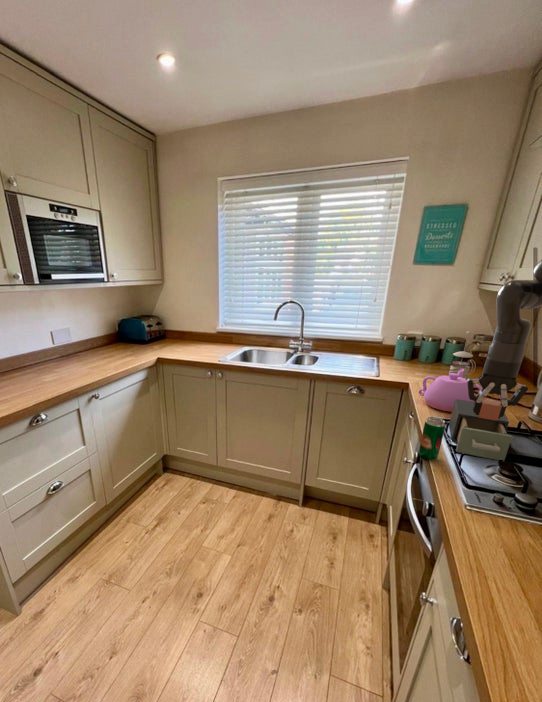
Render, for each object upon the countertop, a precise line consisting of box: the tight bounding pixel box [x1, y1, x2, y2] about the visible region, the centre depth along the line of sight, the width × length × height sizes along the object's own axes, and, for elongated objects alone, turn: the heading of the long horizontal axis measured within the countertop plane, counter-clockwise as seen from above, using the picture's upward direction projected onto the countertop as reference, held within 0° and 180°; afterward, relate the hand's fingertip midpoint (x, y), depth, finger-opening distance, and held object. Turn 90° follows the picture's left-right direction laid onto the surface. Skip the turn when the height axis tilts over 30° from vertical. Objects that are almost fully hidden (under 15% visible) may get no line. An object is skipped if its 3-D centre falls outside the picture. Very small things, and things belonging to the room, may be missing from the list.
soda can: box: [417, 416, 447, 461], centre depth 95 cm, size 5×5×12 cm
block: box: [478, 398, 502, 421], centre depth 95 cm, size 4×4×4 cm
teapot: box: [418, 368, 482, 413], centre depth 132 cm, size 22×22×14 cm
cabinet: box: [448, 399, 510, 443], centre depth 107 cm, size 15×13×10 cm
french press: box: [448, 330, 476, 380], centre depth 158 cm, size 10×12×25 cm
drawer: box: [455, 417, 513, 462], centre depth 98 cm, size 18×11×8 cm, turn 151°
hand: (486, 415), depth 95 cm, fingers closed on block, 4 cm apart
